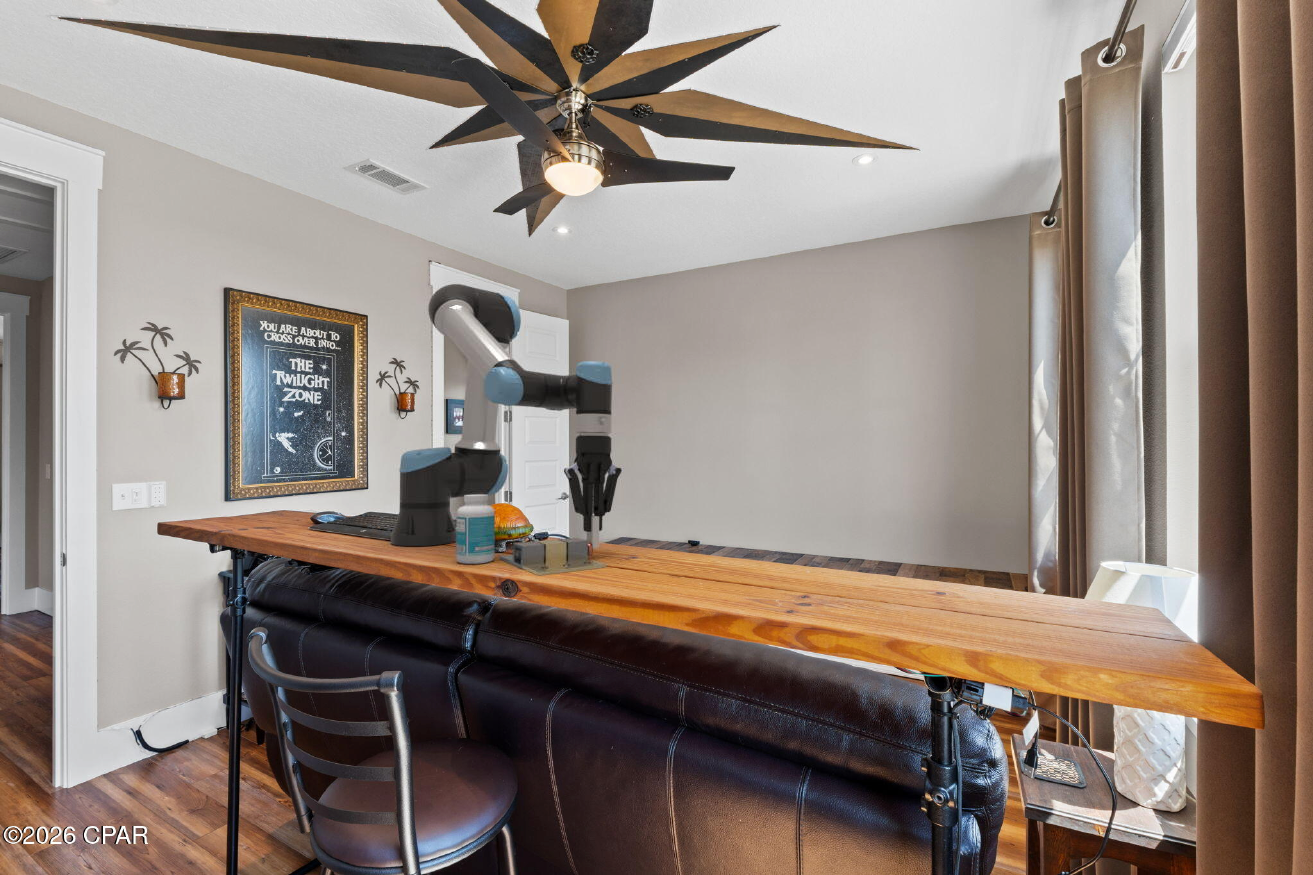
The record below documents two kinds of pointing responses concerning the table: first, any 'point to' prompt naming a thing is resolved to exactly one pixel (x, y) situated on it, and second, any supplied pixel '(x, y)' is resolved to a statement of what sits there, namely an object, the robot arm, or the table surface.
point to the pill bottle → (475, 531)
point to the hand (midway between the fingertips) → (592, 546)
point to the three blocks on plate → (552, 556)
